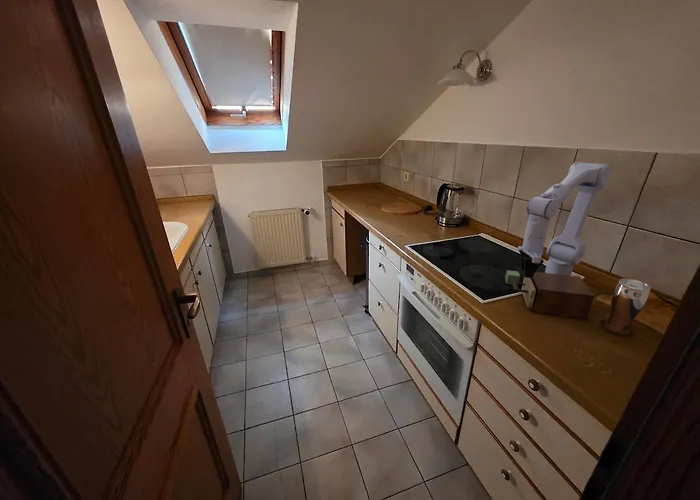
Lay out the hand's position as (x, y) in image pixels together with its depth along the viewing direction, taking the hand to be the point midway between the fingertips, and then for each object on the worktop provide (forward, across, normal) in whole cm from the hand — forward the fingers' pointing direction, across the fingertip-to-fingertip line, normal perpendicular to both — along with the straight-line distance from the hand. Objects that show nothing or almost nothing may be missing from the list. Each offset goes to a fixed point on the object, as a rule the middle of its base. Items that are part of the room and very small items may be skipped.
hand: (526, 273), depth 99 cm
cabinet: (+10, 0, +10) cm, 14 cm away
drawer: (+9, 0, +6) cm, 11 cm away
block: (+10, -13, -1) cm, 17 cm away
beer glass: (+11, +9, +24) cm, 28 cm away
